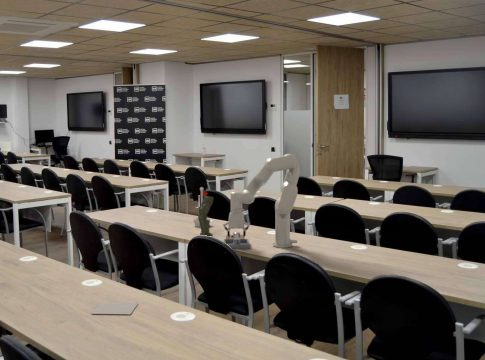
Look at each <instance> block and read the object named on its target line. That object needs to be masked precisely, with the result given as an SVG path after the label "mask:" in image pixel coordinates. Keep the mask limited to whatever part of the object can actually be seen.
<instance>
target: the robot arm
mask: <svg viewBox="0 0 485 360" xmlns="http://www.w3.org/2000/svg"><path fill="white" fill-rule="evenodd" d="M300 168H301V167H300V164H299V162H298V157H296V155H294V154H292V153H286V154H284V155H283V156H280V157H279V156H278V157H268V158H267V159H265V161H264V162H263V164H262V165H261V166H260V169H259V170H258V171H257V173H256V174H255V175H254V177H252V179H251V181H250V182H249V183H248V184H247V186H246V187H245V189H244V190H243V192H241V191H231V193H230V212H229V214H228V221H227V222H225V223H223V224H222V226H223V228H224V230H225V231H226V232H227V234H226V235H227V236H228V237H230V235H231V232H230V231H231V230H233V229H235V230H237V229H238V230H239V229H241V230H242V235H243V237H244V238H245V237H246V236H247V235H246V233H247V231H248V230H249V227H250V226H251V224H250V223H249V222H246V221H245V215H244V212H245V210H246V209H244V208H243V204H247V205H250V204H252V203H254V202H255V196H256V194H257V192H259V190H260V189H261V188H262V187H263V186H265V185H266V184H267V183H268V182H269V180H270V179H271V177H272V175H273V174H274V173H276V172H281V171H285V170H286V171H285V176H284V180H283V182H282V185H281V187H280V191H281V196H280V197H279V198H277V199H276V200H275V204H274V211H275V212H274V213H275V220H274V222H275V228H274V232H275V233H274V234H275V236H274V242H273V243H272V246H273V247H275V248H279V249H280V248H283V249H286V248H291V247H292V246H293V244H297V243H298V239H291V212H292V211H293V209H294V205H295V202H296V199H297V197H298V194H299V193H298V191H299V190H298V186H297V184H298V181H299V178H300V175H301V169H300ZM245 225H246V226H245ZM227 226H228V227H227Z"/></svg>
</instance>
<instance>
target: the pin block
mask: <svg viewBox="0 0 485 360" xmlns="http://www.w3.org/2000/svg"><path fill="white" fill-rule="evenodd" d="M225 239H233V234H230V237H228V236H227V234H226V235H225ZM240 239H246V238H245V237H243V234H240Z"/></svg>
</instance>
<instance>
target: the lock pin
mask: <svg viewBox="0 0 485 360" xmlns="http://www.w3.org/2000/svg"><path fill="white" fill-rule="evenodd" d="M232 235H233V244H240V235H241V232H239V231H238V232H236V231H235V232H233V233H232Z"/></svg>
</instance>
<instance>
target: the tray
mask: <svg viewBox="0 0 485 360" xmlns="http://www.w3.org/2000/svg"><path fill="white" fill-rule="evenodd" d="M224 243H226V244H228V245H229V246H230V247H231V248H232V250H250V248H251V246H250V241H249V238H245V239H240V244H233V239H226V238H223V244H224Z"/></svg>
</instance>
